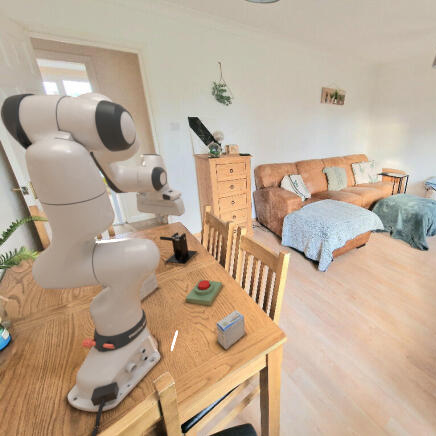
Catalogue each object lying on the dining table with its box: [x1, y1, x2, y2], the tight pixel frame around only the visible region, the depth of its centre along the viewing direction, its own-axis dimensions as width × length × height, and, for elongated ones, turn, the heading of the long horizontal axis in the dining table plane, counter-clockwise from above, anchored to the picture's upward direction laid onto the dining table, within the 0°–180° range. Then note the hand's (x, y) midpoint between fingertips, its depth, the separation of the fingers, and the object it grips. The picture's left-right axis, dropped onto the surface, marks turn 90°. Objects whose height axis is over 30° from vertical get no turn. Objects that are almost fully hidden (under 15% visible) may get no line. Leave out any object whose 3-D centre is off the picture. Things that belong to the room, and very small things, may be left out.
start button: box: [197, 279, 210, 290], centre depth 98 cm, size 4×4×2 cm
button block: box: [185, 279, 223, 306], centre depth 99 cm, size 12×10×4 cm
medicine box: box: [216, 309, 246, 350], centre depth 78 cm, size 8×4×9 cm, turn 141°
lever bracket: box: [165, 232, 198, 265], centre depth 121 cm, size 12×10×14 cm
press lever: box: [159, 234, 182, 242], centre depth 114 cm, size 12×6×2 cm, turn 173°
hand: (163, 222), depth 106 cm, fingers closed
